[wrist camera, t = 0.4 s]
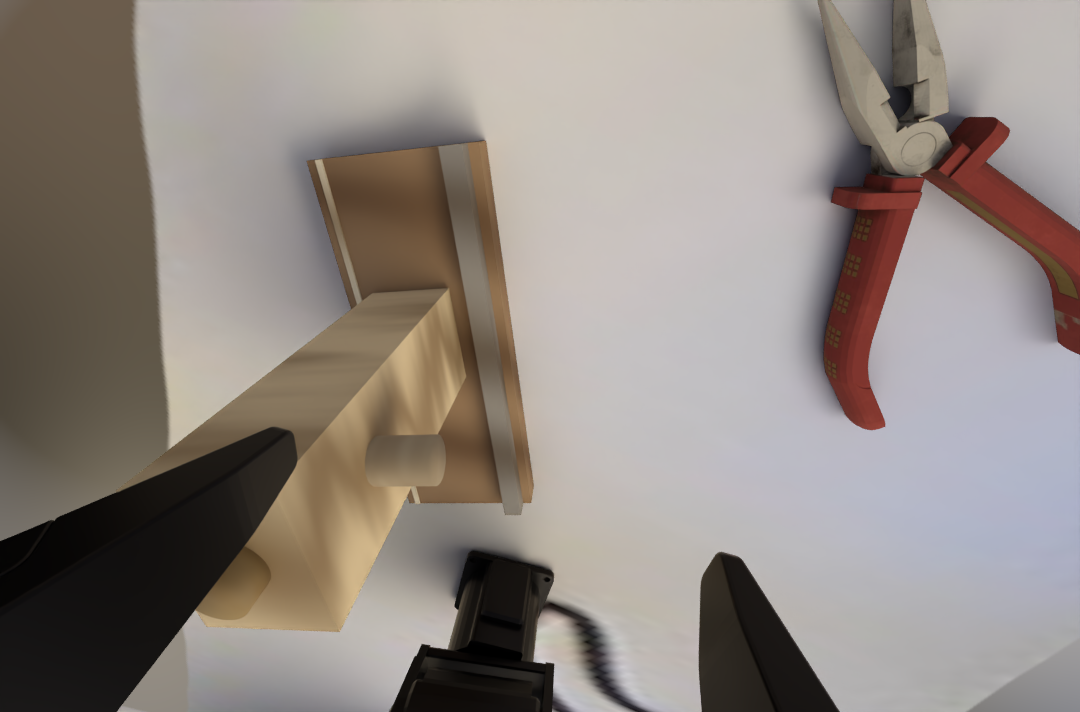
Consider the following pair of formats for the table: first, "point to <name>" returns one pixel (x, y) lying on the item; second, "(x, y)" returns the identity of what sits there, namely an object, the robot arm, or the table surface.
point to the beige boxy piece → (335, 457)
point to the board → (433, 263)
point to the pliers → (894, 194)
